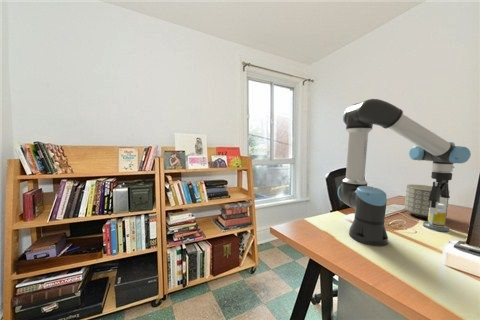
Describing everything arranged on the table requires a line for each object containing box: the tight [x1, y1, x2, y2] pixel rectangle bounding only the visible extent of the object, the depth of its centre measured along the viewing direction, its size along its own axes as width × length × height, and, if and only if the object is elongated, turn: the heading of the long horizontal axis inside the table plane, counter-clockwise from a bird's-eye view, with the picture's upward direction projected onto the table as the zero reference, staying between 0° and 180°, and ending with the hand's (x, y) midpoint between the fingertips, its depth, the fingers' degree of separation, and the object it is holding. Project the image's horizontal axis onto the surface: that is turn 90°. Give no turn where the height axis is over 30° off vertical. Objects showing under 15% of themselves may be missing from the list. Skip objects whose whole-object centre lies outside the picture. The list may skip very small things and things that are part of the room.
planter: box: [404, 184, 450, 220], centre depth 121 cm, size 19×19×18 cm
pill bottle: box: [427, 203, 447, 227], centre depth 104 cm, size 6×6×12 cm
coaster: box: [422, 220, 451, 233], centre depth 105 cm, size 10×10×2 cm
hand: (438, 211), depth 104 cm, fingers open, 13 cm apart
